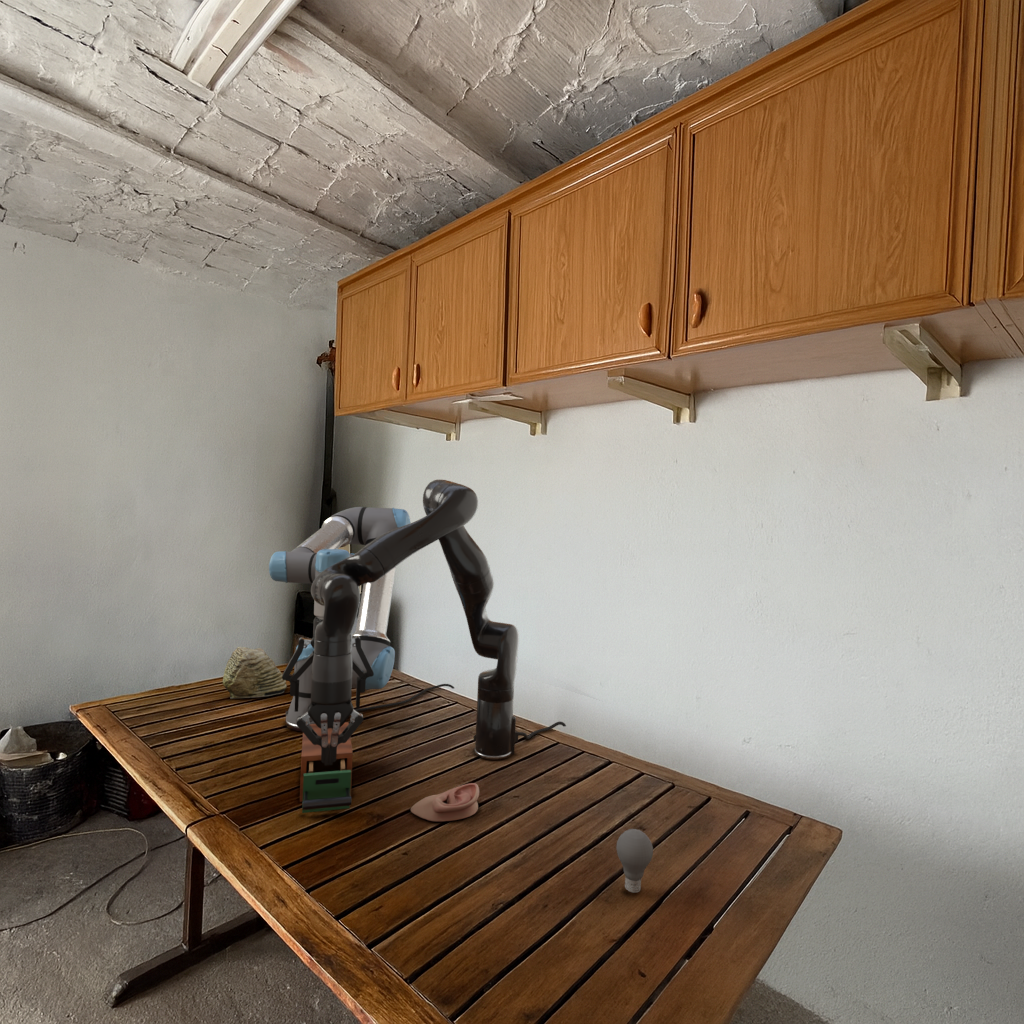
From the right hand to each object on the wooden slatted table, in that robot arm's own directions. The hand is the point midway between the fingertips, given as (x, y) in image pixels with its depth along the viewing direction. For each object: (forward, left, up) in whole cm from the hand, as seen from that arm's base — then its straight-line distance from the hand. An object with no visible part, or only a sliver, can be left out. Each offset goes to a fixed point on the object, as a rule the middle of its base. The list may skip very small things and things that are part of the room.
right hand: (328, 764), depth 122 cm
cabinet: (-4, -20, -12) cm, 23 cm away
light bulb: (-42, +41, -12) cm, 60 cm away
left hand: (-5, -25, +3) cm, 25 cm away
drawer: (-2, -9, -11) cm, 14 cm away
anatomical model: (-23, +3, -12) cm, 26 cm away
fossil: (+5, -88, -12) cm, 88 cm away
